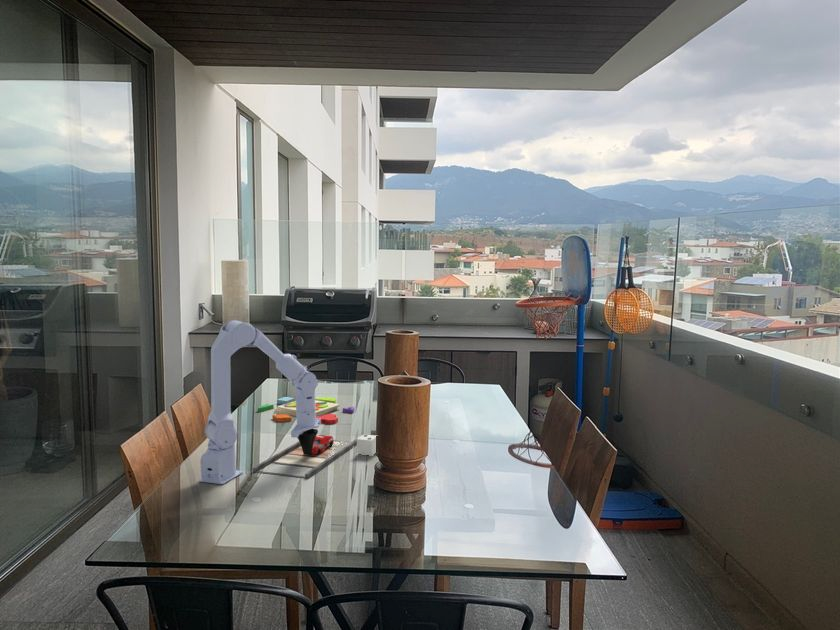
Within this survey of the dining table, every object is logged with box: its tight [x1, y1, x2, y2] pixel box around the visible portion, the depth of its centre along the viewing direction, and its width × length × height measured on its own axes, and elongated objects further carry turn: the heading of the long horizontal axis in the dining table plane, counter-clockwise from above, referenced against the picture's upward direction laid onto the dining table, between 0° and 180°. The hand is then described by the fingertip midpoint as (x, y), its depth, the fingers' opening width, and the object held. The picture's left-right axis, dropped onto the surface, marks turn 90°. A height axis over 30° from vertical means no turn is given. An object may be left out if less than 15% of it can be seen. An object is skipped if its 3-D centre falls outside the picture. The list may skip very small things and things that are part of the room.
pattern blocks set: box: [257, 396, 355, 425], centre depth 245 cm, size 38×34×3 cm
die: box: [356, 434, 377, 457], centre depth 193 cm, size 5×5×5 cm
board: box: [252, 438, 358, 480], centre depth 191 cm, size 33×18×1 cm, turn 161°
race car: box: [310, 434, 334, 455], centre depth 197 cm, size 13×5×4 cm, turn 159°
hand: (307, 453), depth 190 cm, fingers closed
